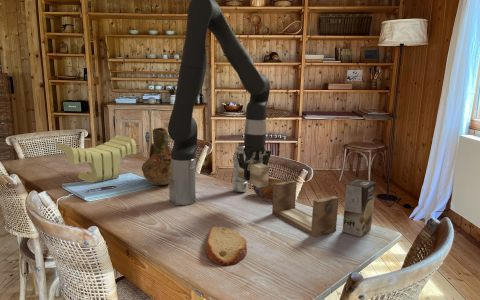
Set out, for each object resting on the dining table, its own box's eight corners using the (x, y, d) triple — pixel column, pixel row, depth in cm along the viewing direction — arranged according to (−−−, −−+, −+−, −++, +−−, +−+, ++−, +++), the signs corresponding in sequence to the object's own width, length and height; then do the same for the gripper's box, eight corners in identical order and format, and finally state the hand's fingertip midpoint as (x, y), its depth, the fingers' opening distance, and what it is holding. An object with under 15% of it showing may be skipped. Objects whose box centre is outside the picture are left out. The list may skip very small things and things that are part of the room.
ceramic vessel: (153, 195, 147) (151, 134, 142) (135, 179, 169) (133, 125, 164) (192, 189, 156) (192, 131, 151) (170, 175, 177) (169, 124, 172)
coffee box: (361, 237, 113) (365, 188, 110) (341, 231, 117) (345, 183, 114) (371, 228, 120) (376, 181, 117) (353, 223, 124) (357, 178, 121)
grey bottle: (246, 194, 151) (247, 147, 147) (230, 193, 153) (231, 146, 149) (249, 190, 157) (250, 144, 153) (233, 188, 159) (234, 143, 155)
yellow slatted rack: (76, 188, 153) (73, 147, 150) (58, 181, 163) (55, 142, 160) (137, 175, 176) (135, 138, 172) (118, 169, 186) (117, 134, 182)
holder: (316, 237, 112) (319, 203, 110) (271, 213, 131) (272, 183, 129) (337, 231, 117) (340, 198, 115) (290, 208, 136) (291, 180, 134)
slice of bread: (219, 229, 117) (219, 218, 116) (266, 246, 106) (266, 234, 106) (177, 249, 103) (177, 237, 102) (227, 271, 92) (227, 257, 92)
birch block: (258, 187, 124) (259, 167, 123) (238, 176, 136) (238, 158, 135) (268, 186, 126) (269, 166, 125) (247, 175, 138) (248, 157, 137)
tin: (252, 194, 152) (253, 175, 150) (256, 192, 154) (257, 173, 153) (284, 202, 143) (285, 181, 142) (288, 200, 146) (289, 180, 144)
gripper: (244, 134, 121) (241, 184, 124) (277, 132, 128) (274, 179, 132) (232, 131, 127) (230, 178, 130) (265, 129, 134) (262, 174, 138)
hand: (252, 178), depth 131 cm, fingers closed on birch block, 4 cm apart
